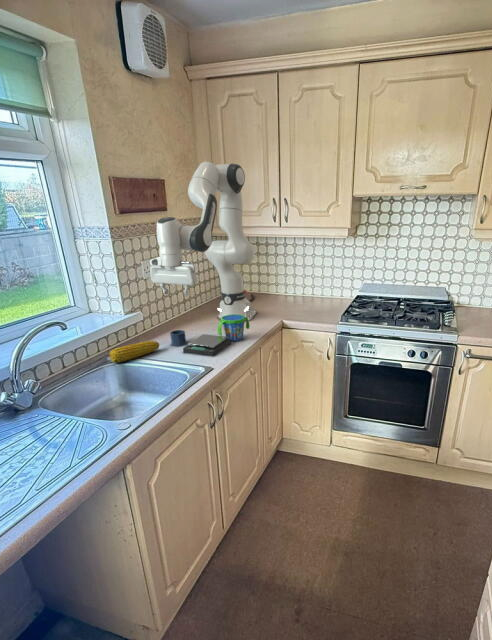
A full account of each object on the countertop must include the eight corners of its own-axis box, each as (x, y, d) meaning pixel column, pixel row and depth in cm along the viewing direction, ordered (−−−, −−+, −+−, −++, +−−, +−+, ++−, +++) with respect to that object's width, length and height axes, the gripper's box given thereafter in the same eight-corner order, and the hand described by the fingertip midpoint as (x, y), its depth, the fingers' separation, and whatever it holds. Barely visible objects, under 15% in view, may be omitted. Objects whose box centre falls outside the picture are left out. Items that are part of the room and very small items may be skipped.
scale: (203, 340, 183) (202, 334, 182) (231, 343, 179) (230, 337, 178) (183, 352, 169) (182, 346, 168) (213, 356, 165) (212, 349, 164)
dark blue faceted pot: (176, 340, 183) (175, 329, 181) (189, 342, 181) (187, 330, 179) (168, 345, 178) (167, 333, 176) (181, 346, 176) (179, 335, 174)
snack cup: (244, 332, 192) (242, 311, 188) (255, 338, 184) (254, 316, 180) (214, 339, 184) (211, 317, 180) (224, 345, 176) (222, 323, 172)
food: (116, 366, 157) (113, 351, 155) (109, 363, 160) (106, 348, 158) (162, 350, 172) (160, 337, 169) (155, 348, 175) (152, 334, 173)
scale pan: (203, 335, 181) (203, 334, 181) (227, 338, 177) (227, 336, 177) (187, 345, 170) (187, 343, 170) (213, 348, 166) (213, 346, 166)
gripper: (197, 260, 165) (201, 294, 171) (155, 258, 171) (160, 291, 177) (189, 262, 160) (193, 297, 165) (146, 260, 166) (151, 294, 172)
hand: (175, 294), depth 171 cm, fingers open, 8 cm apart
